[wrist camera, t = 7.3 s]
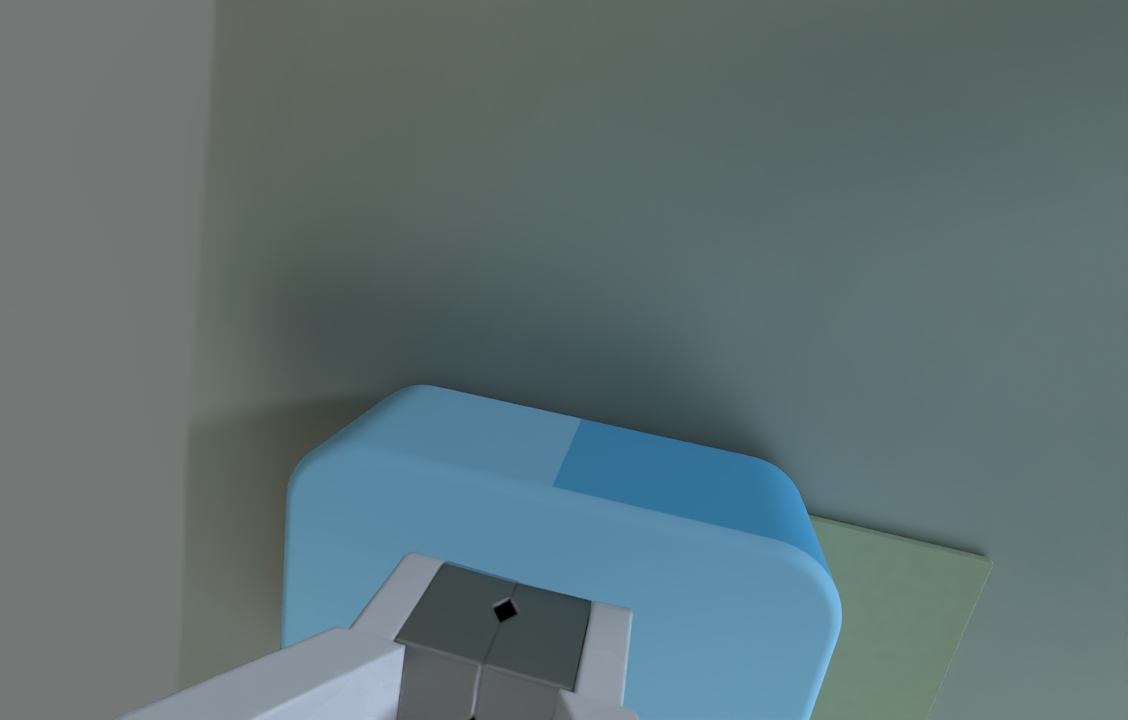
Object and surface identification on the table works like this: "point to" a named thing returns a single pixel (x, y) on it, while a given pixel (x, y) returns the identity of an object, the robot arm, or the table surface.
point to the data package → (577, 542)
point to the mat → (893, 621)
